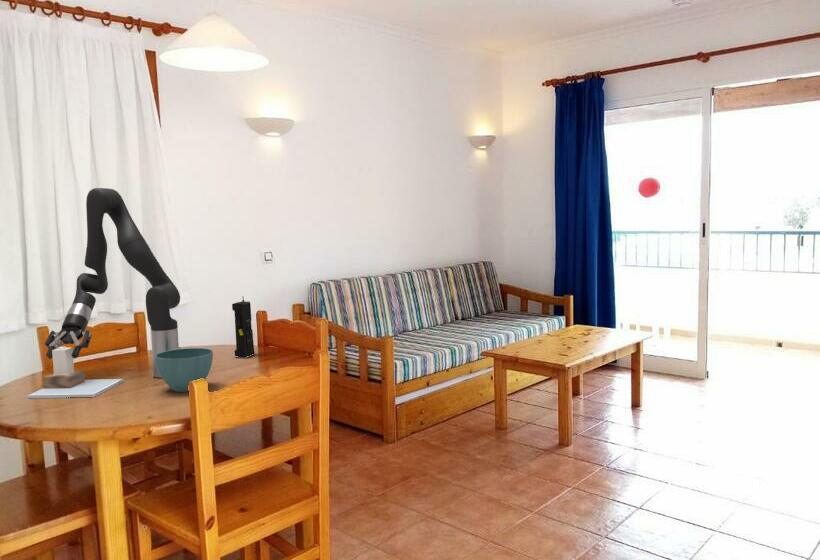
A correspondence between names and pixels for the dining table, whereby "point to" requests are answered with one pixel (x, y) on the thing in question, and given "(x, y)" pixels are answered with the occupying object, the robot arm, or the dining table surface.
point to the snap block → (63, 361)
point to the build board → (73, 386)
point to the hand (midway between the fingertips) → (61, 357)
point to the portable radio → (243, 329)
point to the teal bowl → (184, 366)
